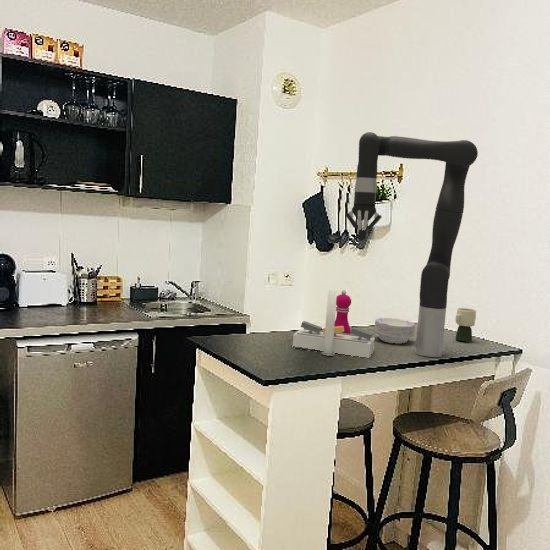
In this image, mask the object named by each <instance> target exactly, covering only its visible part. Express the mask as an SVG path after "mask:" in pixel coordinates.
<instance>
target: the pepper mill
mask: <svg viewBox="0 0 550 550" xmlns="http://www.w3.org/2000/svg"><path fill="white" fill-rule="evenodd" d="M351 305H352V299H351V297H350V296H349V295H348V294H347V292H346V290H344V289H343V290H342V291H341V292H340V294H338V295H337V298H336V315H335V325H334V327H336V326H344V332H341V333H346V334H351V330H352V329H351V326H350V323H349V320H348V319H349V318H348V317H349V316H348V315H349V312H350V306H351Z"/></svg>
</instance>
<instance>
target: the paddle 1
mask: <svg viewBox="0 0 550 550" xmlns="http://www.w3.org/2000/svg"><path fill="white" fill-rule="evenodd" d="M300 328H301V329H304V328H305V329H308V330H311V331H313V332H316V333H320V332H321V330H323V326H319V325H317V324H314V323H311V322H308V321H305V320H303V321H302V322H301V325H300Z"/></svg>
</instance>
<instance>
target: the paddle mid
mask: <svg viewBox="0 0 550 550" xmlns="http://www.w3.org/2000/svg"><path fill="white" fill-rule="evenodd" d="M322 330H323V334H325V327H322ZM341 332H344V326H336V327H334V333H341Z"/></svg>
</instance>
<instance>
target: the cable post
mask: <svg viewBox="0 0 550 550" xmlns="http://www.w3.org/2000/svg"><path fill="white" fill-rule="evenodd" d="M337 294H338V292H337V291H335V290H328V291H327V301H326V314H325V315H326V316H325V326H324V328H325V341H324V352H321V354H323V355H327V356H334V357H335V355H336V354H335V353H333V339H334V325H335V320H336V313H337V311H336V307H337V305H336V298H337V296H338V295H337Z"/></svg>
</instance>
